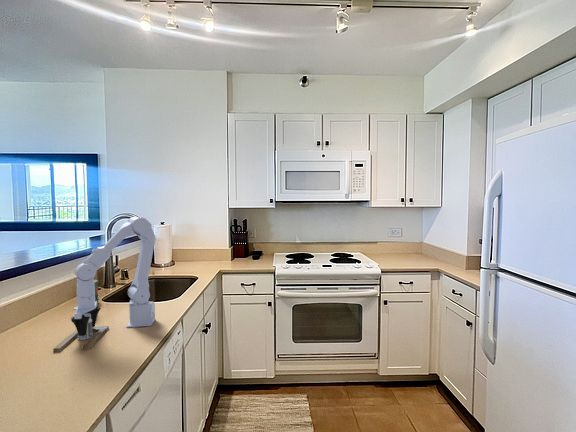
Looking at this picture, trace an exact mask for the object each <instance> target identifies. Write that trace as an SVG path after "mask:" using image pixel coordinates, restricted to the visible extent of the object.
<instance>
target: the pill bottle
mask: <svg viewBox="0 0 576 432" xmlns="http://www.w3.org/2000/svg"><path fill="white" fill-rule="evenodd" d="M84 316H85V317H90V318H91V314H89V313H86V314H84ZM90 318H89V321H88V324H87V332H86V335H85V336H79V334H78V336H77V339H78V340H81V341H83V340H84V341H85V340H87V339H91V338H92V337H93V336H94V335H93V334H94V333H93V330H92V319H90Z"/></svg>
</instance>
